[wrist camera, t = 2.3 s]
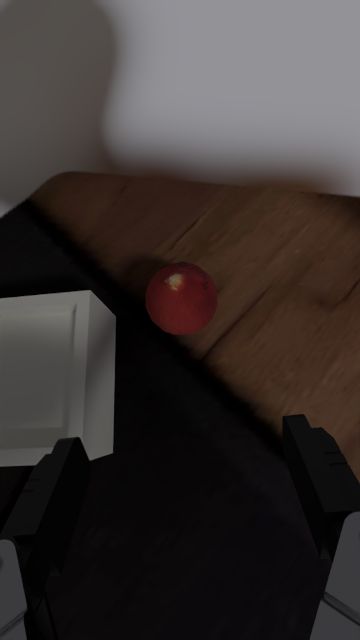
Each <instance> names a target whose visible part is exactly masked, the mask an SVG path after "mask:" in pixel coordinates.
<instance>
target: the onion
mask: <svg viewBox="0 0 360 640" xmlns="http://www.w3.org/2000/svg"><path fill="white" fill-rule="evenodd" d="M216 307H217V290H216V287H215V285H214V283H213V281H212V279H211V277H210V276H209V275H208V274H207V273H206V272H205V271H203V270H202V269H201V268H200V267H198V266H197V265H193V264H189V263H186V262H180V263H176V264H171V265H168V266H167V267H165V268H163V269H161V270H159V271H158V272H157V273H156V274H155V275H154V276H153V277H152V278H151V280H150V282H149V285H148V288H147V291H146V308H147V311H148V313H149V315H150V317H151V320H152V321H153V322H154V323H155V324H157V325H158V326H159V327H160V328H161V329H162V330H164V331H165V332H169V333H172V334H175V335H190V334H192V333H195V332H197V331H199V330H202V329H203V328H204V327H205V326H206V325H207V324H208V322H209V321H210V320H211V319H212V318H213V315H214V312H215V310H216Z"/></svg>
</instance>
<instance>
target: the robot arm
mask: <svg viewBox="0 0 360 640" xmlns="http://www.w3.org/2000/svg"><path fill="white" fill-rule="evenodd" d="M283 452H284V456H285V460H286V463H287V466H288V469H289V471H290V474H291V477H292V480H293V483H294V486H295V488H296V491H297V494H298V497H299V500H300V503H301V505H302V508H303V511H304V514H305V517H306V519H307V522H308V525H309V528H310V531H311V534H312V536H313V539H314V542H315V545H316V548H317V551H318V553H319V556H320V559H324V558H331V561H332V563H333V564H332V568H331V572H330V575H329V579H328V583H327V586H326V590H325V593H324V595H323V596H322V599H321V602H320V605H319V608H318V612H317V616H316V619H315V623H314V626H313V630H312V634H311V637H310V640H360V484H359V482H358V480H357V478H356V477H355V475H354V473H353V471H352V470H351V468H350V466H349V465H348V464H347V461H346V459H345V457H344V455H343V454H342V453H341V450H340V448H339V447H338V445H337V443H336V441H335V440H334V438H333V437H332V436H331V435H330V434H329V433H327V432H326V431H325V430H324V429H323V428H322V427H319V428H311V427H310V425H309V423H308V421H307V419H306V417H305V415H304V414H299V415H290V416H283ZM90 477H91V463H90V460H89V458H88V455H87V453H86V451H85V448H84V446H83V443H82V441H81V439H80V438H79V437H71V438H61V439H59V440H58V441H57V442H56V444H55V446H54V448H53V450H52V452H51V454H45V455H44V457H43V458H42V459H41V460H40V461H39V462H38V463H37V464H36V465H35V467H34V469H33V471H32V473H31V475H30V477H29V479H28V482H27V483H26V485H25V487H24V489H23V493H21V495H20V497H19V499H18V500H17V502H16V504H15V506H14V508H13V510H12V512H11V514H10V516H9V518H8V520H7V522H6V524H5V526H4V528H3V530H2V532H1V534H0V640H59V639H58V636H57V632H56V628H55V624H54V620H53V616H52V613H51V609H50V605H49V601H48V597H47V593H46V590H45V585H46V582H47V579H48V576H53V575H61V573H62V569H63V566H64V563H65V560H66V556H67V553H68V550H69V547H70V543H71V540H72V537H73V533H74V530H75V527H76V524H77V520H78V517H79V514H80V510H81V507H82V504H83V501H84V497H85V494H86V491H87V487H88V484H89V481H90Z"/></svg>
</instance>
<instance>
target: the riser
mask: <svg viewBox="0 0 360 640" xmlns="http://www.w3.org/2000/svg"><path fill="white" fill-rule="evenodd" d="M115 333H116V316H115V315H114V314H113V313H112V312H111V311H110V310H109V309H108V308H107V307H106V306H105V305H104V304H103V303H102V302H101V301H100V300H99V299H98V298H97V297H96V296H95V295H94V294H93V293H92V292H91V290H87V291H76V292H65V293H54V294H44V295H33V296H22V297H12V298H1V299H0V466H22V465H36V464H37V463H38V462H39V461H40V460H41V459H42V458H43V457H44V455H45V454H51V452H52V450H53V448H54V446H55V444H56V442H57V441H58V440H59V439H61V438H71V437H79V438H80V439H81V441H82V443H83V446H84V448H85V451H86V453H87V455H88V458H89V460H92V459H96V458H99V457H102V456H105V455H108V454H111V453H113V421H114V377H115Z"/></svg>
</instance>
